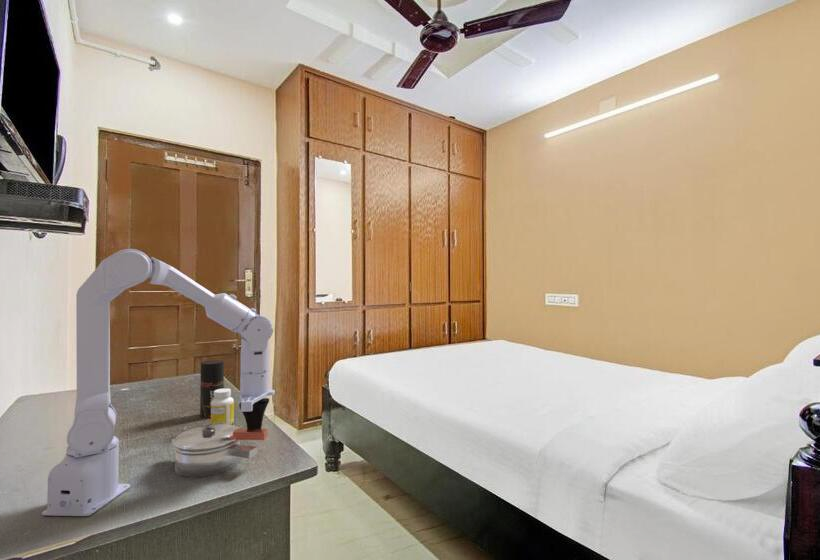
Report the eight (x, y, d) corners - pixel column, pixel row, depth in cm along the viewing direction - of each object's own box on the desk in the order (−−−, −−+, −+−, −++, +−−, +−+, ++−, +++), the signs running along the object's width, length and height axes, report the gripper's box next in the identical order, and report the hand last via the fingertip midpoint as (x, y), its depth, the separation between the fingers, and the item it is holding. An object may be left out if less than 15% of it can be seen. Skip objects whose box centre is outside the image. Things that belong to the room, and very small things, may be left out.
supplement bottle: (227, 422, 107) (228, 386, 107) (237, 427, 104) (238, 390, 104) (206, 428, 103) (207, 390, 103) (216, 433, 100) (217, 394, 100)
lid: (160, 450, 77) (160, 441, 77) (195, 427, 90) (195, 419, 90) (254, 451, 77) (254, 442, 77) (276, 428, 90) (276, 420, 90)
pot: (149, 471, 80) (149, 446, 80) (199, 446, 92) (199, 424, 92) (230, 486, 74) (231, 459, 74) (272, 457, 86) (272, 434, 86)
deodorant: (206, 419, 110) (207, 365, 110) (196, 415, 113) (196, 362, 113) (227, 414, 114) (227, 361, 114) (216, 409, 118) (217, 359, 118)
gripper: (267, 378, 79) (267, 447, 79) (279, 363, 93) (279, 421, 93) (229, 379, 77) (229, 449, 77) (248, 364, 92) (247, 423, 92)
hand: (254, 434), depth 85 cm, fingers closed, pressing on lid
